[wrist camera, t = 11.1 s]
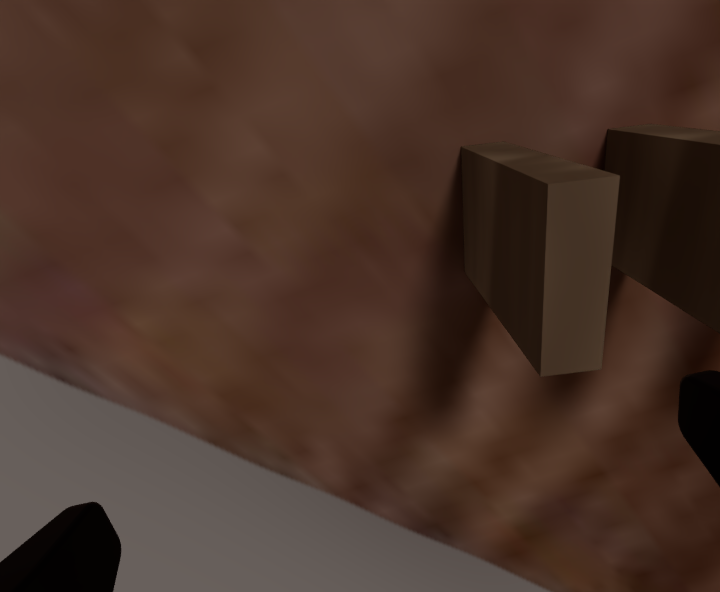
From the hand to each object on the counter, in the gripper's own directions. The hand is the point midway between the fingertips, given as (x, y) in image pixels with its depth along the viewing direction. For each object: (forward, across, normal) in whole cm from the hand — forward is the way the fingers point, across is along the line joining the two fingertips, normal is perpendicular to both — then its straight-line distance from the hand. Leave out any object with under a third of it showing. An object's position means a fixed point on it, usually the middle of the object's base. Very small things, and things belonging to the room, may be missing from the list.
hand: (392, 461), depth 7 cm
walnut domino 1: (+13, -5, 0) cm, 14 cm away
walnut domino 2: (+13, -11, 0) cm, 17 cm away
